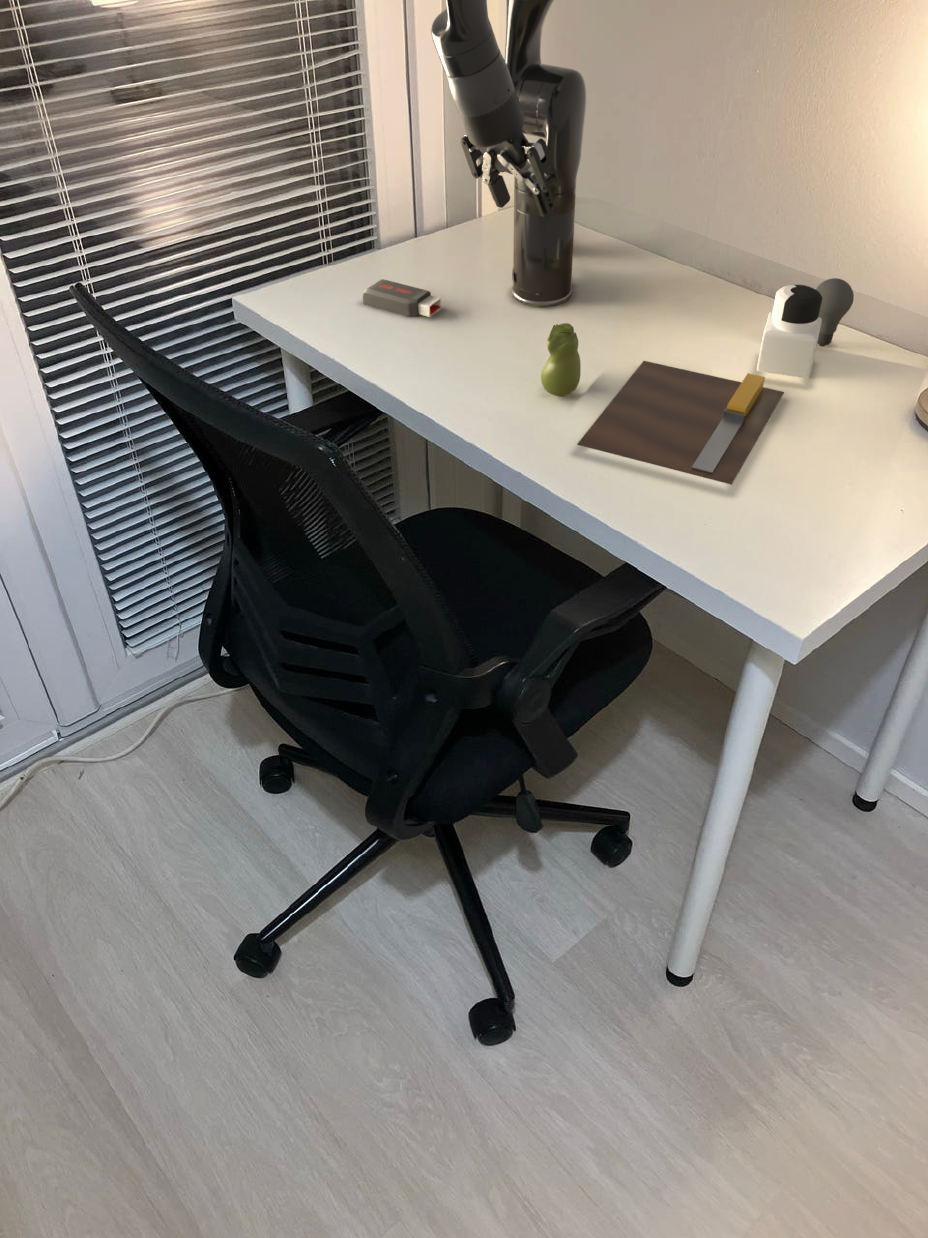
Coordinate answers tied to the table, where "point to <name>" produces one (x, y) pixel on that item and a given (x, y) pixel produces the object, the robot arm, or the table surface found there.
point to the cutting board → (677, 420)
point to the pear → (562, 361)
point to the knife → (730, 423)
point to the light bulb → (833, 307)
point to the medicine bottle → (791, 332)
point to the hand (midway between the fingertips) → (525, 208)
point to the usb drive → (401, 299)
